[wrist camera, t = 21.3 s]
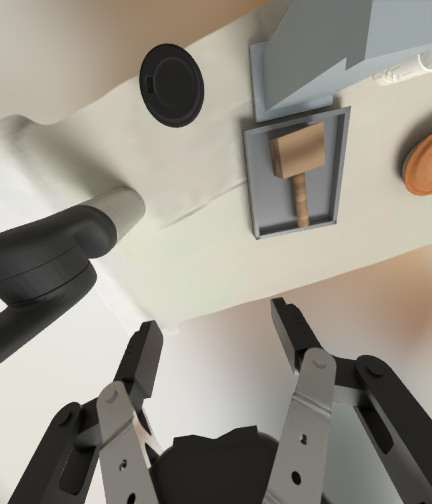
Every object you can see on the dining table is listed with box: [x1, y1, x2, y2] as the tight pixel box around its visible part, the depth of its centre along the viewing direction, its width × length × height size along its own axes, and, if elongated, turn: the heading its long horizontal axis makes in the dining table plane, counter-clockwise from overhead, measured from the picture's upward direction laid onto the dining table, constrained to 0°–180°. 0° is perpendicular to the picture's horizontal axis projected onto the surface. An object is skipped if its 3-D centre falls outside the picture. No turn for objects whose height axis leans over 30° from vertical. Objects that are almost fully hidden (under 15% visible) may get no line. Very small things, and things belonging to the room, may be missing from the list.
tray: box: [243, 106, 351, 240], centre depth 46 cm, size 26×22×3 cm
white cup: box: [373, 50, 432, 85], centre depth 33 cm, size 8×8×10 cm
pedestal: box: [249, 0, 432, 123], centre depth 23 cm, size 12×16×32 cm
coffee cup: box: [139, 44, 204, 128], centre depth 32 cm, size 9×9×15 cm
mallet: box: [269, 121, 325, 227], centre depth 44 cm, size 22×9×6 cm, turn 18°
